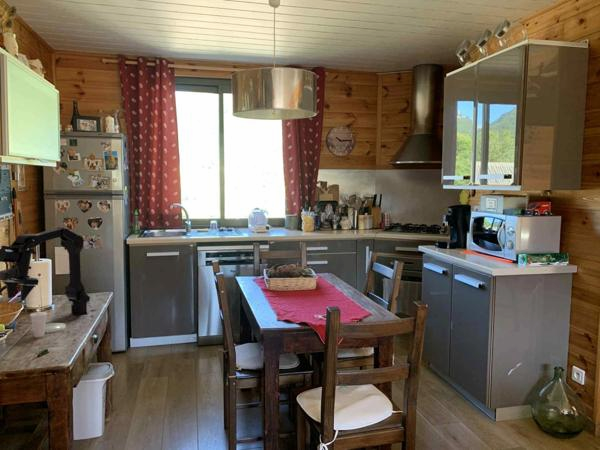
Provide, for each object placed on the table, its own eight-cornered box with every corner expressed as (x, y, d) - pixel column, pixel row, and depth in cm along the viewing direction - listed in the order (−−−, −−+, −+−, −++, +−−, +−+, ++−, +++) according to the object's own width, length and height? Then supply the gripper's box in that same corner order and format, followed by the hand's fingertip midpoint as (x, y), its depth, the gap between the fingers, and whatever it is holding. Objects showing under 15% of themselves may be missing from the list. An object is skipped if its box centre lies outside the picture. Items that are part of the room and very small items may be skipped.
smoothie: (40, 339, 197) (39, 306, 195) (26, 337, 198) (26, 305, 196) (51, 334, 203) (50, 302, 201) (38, 332, 204) (37, 301, 203)
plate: (63, 323, 217) (63, 321, 217) (67, 330, 208) (67, 328, 208) (36, 327, 211) (36, 325, 211) (39, 334, 202) (39, 332, 202)
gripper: (-10, 260, 201) (-16, 296, 199) (16, 263, 192) (9, 302, 190) (16, 262, 211) (10, 297, 209) (41, 265, 202) (35, 302, 200)
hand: (15, 299), depth 202 cm, fingers open, 9 cm apart
